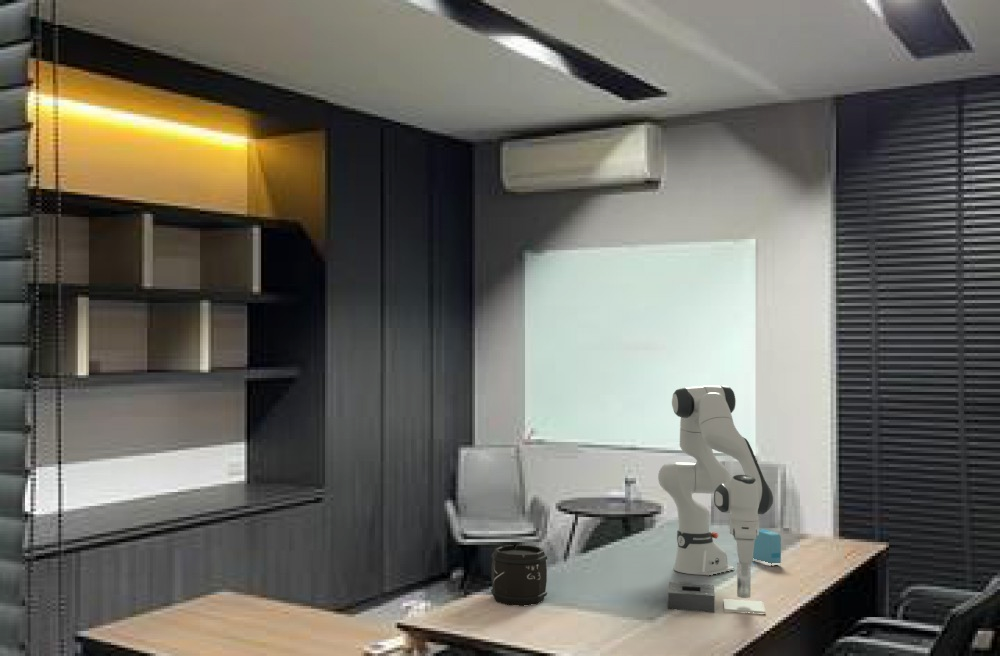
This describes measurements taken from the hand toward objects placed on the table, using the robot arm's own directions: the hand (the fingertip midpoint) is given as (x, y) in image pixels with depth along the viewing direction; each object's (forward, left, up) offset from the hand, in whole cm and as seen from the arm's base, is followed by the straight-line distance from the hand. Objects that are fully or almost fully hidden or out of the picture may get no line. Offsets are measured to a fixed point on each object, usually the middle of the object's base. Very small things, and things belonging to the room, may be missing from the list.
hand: (744, 573), depth 288 cm
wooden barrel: (+58, -40, -11) cm, 71 cm away
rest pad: (0, 0, -11) cm, 11 cm away
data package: (-53, -44, -11) cm, 69 cm away
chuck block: (+12, -11, -11) cm, 19 cm away
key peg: (0, 0, -7) cm, 7 cm away
